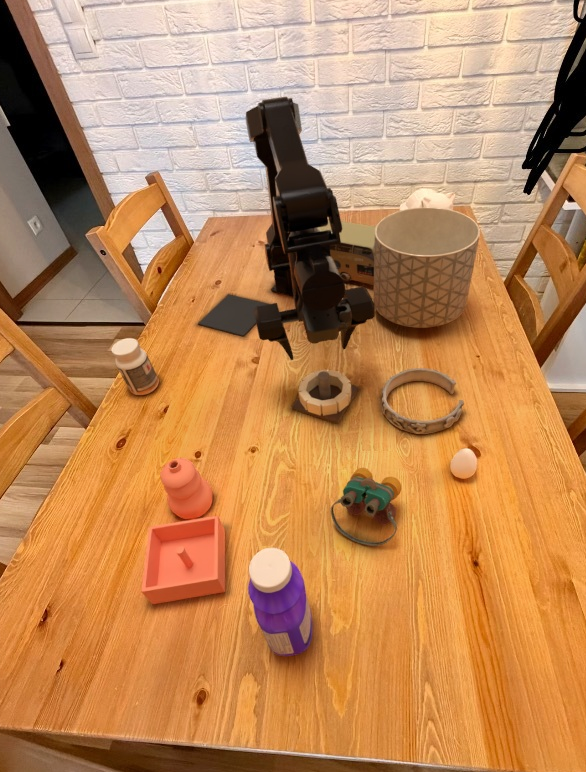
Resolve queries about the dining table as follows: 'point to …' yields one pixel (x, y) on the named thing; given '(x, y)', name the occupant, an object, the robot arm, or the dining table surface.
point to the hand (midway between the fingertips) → (317, 353)
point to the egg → (464, 463)
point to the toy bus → (354, 252)
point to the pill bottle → (135, 366)
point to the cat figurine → (429, 200)
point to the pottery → (185, 541)
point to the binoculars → (369, 500)
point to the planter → (424, 265)
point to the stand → (325, 397)
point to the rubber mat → (232, 315)
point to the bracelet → (415, 425)
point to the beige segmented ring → (331, 404)
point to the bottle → (280, 602)
